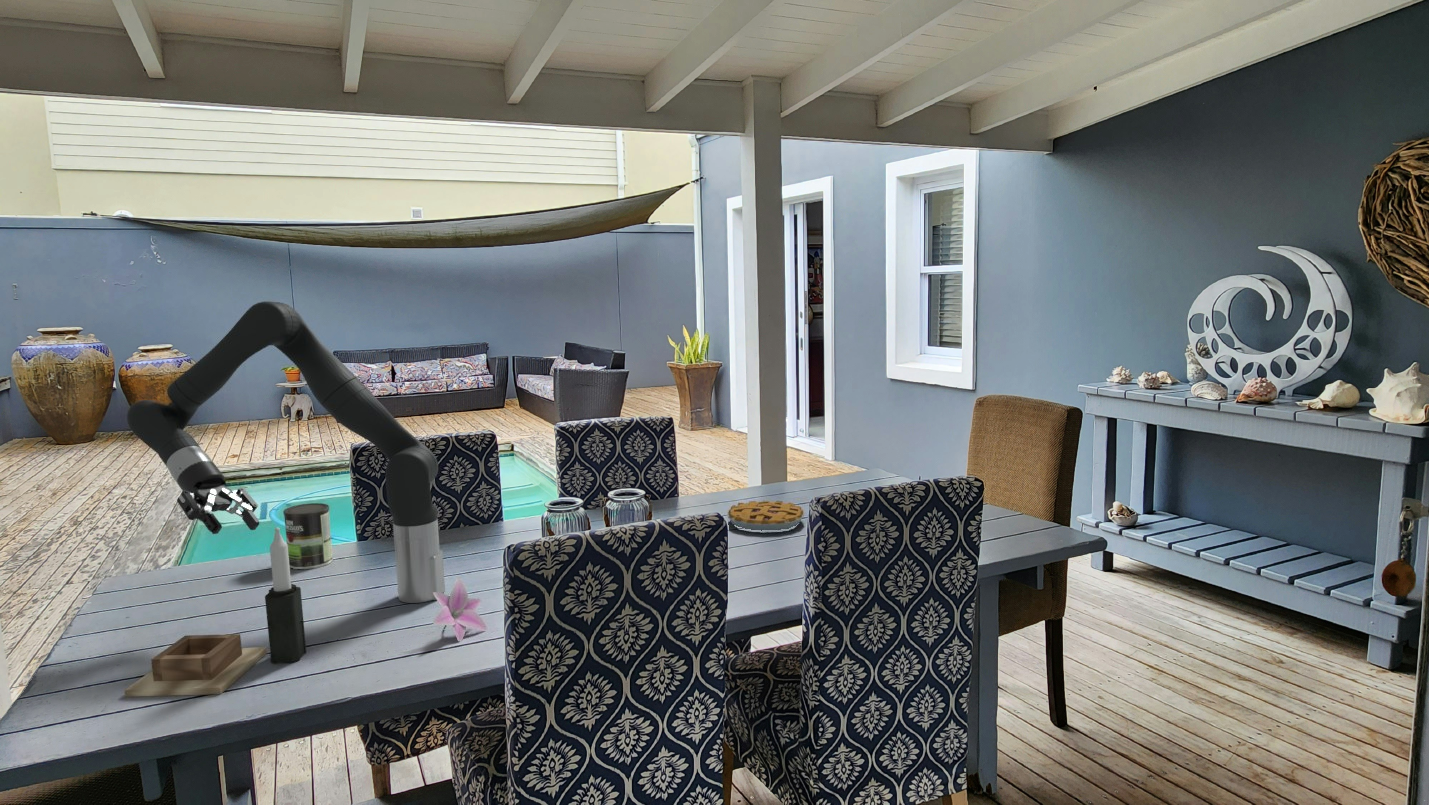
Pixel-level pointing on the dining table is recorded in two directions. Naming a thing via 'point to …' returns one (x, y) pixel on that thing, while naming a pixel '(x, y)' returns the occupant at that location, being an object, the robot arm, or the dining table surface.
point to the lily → (459, 610)
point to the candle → (284, 608)
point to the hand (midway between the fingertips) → (237, 529)
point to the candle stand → (197, 666)
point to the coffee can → (308, 535)
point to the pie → (765, 515)
